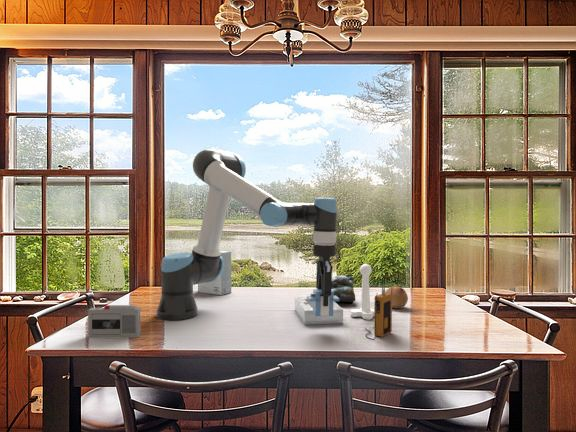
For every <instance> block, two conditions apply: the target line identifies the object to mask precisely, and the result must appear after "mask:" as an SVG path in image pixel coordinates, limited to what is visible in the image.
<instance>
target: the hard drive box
mask: <svg viewBox="0 0 576 432" xmlns="http://www.w3.org/2000/svg"><path fill="white" fill-rule="evenodd" d="M220 252H221V257H222V258H223V262H224V270H223V272H222V274H221V276H220V277H219V278H218V279H216V280H213V281H211V282H207V283H206V282H205V283H200V284H197V292H198V293H203V294H209V295H210V294H212V295H216V296H217V295H219V296H224V295H226V294H231V293H232V251H225V250H220Z"/></svg>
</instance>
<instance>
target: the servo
mask: <svg viewBox="0 0 576 432" xmlns="http://www.w3.org/2000/svg"><path fill="white" fill-rule="evenodd" d="M321 294H322V289H316V288H315V289H312V293H310V295H307V296H306V297H307V299H308V300H309V301H313V314H314V315H315V316H321V315H320V310H321V296H320V295H321ZM333 301H339V298H338V297H337V296H334V292H333V291H332V290H331V296H329V316H333Z"/></svg>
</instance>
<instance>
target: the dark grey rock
mask: <svg viewBox="0 0 576 432" xmlns="http://www.w3.org/2000/svg"><path fill="white" fill-rule="evenodd" d="M354 284H355V277H354V276H351V275H350V274H346V275H337V276H334V277H333V278H332V287H331V290H332V291H333V292H334V296H337V297H338V298H339V301H334V302H335V303H340V302H342V303H343V302H345V303H346V302H347V303H354V302H356V294H355V291H354Z"/></svg>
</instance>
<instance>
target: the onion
mask: <svg viewBox="0 0 576 432" xmlns="http://www.w3.org/2000/svg"><path fill="white" fill-rule="evenodd" d="M391 289H392V309H402V308H404V307H405V306H406V305H407V304H408V301H409V296H408V293H407V291H406V290H405V289H404V288H403V287H402V286H391V287H388V288H387V289H385V293H389V294H391Z"/></svg>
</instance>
